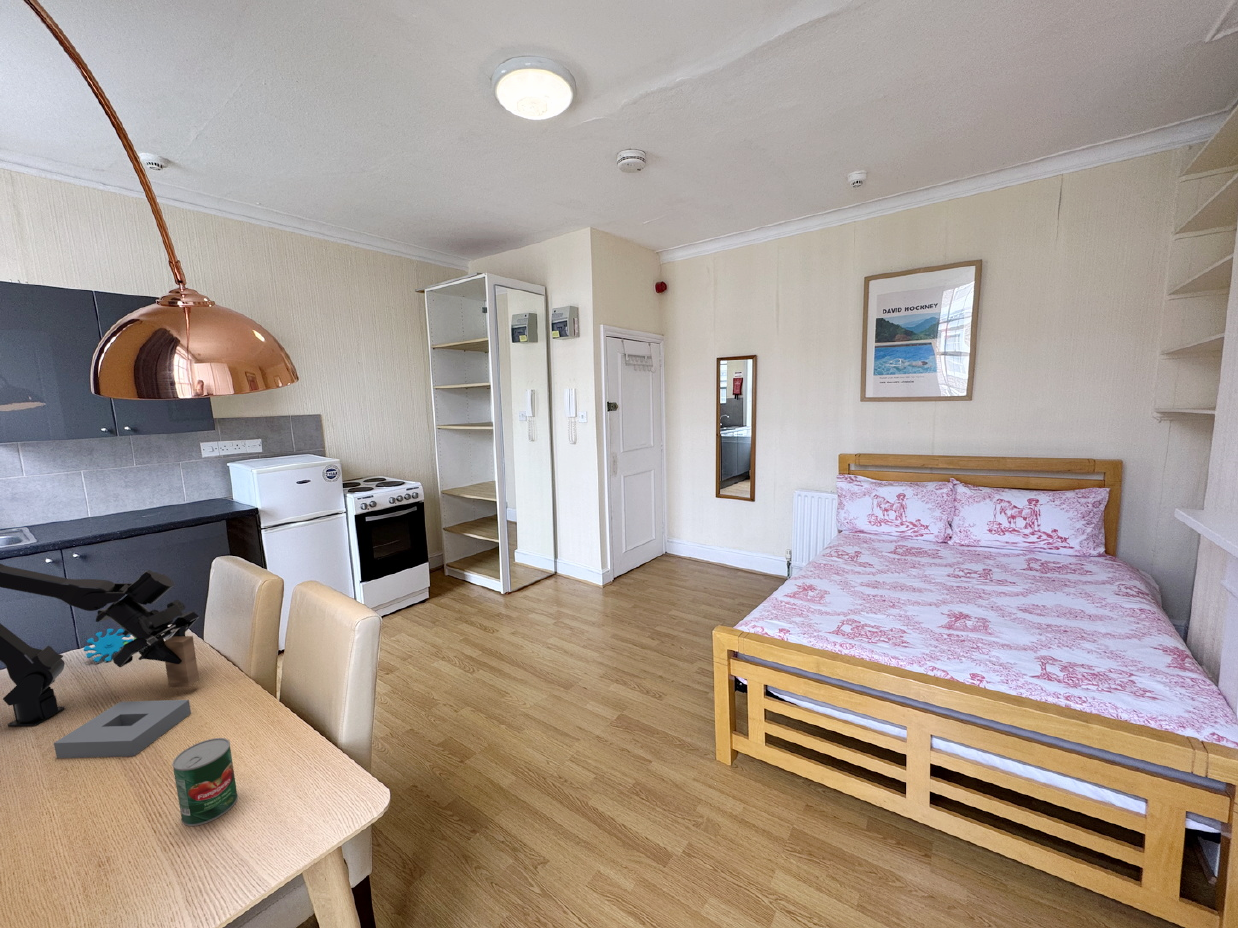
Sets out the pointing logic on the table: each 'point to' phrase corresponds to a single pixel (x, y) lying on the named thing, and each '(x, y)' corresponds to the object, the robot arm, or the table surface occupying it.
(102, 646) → the gear
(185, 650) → the walnut peg
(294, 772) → the table surface
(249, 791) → the table surface
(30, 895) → the table surface
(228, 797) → the canned tomato
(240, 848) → the table surface
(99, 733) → the socket block
